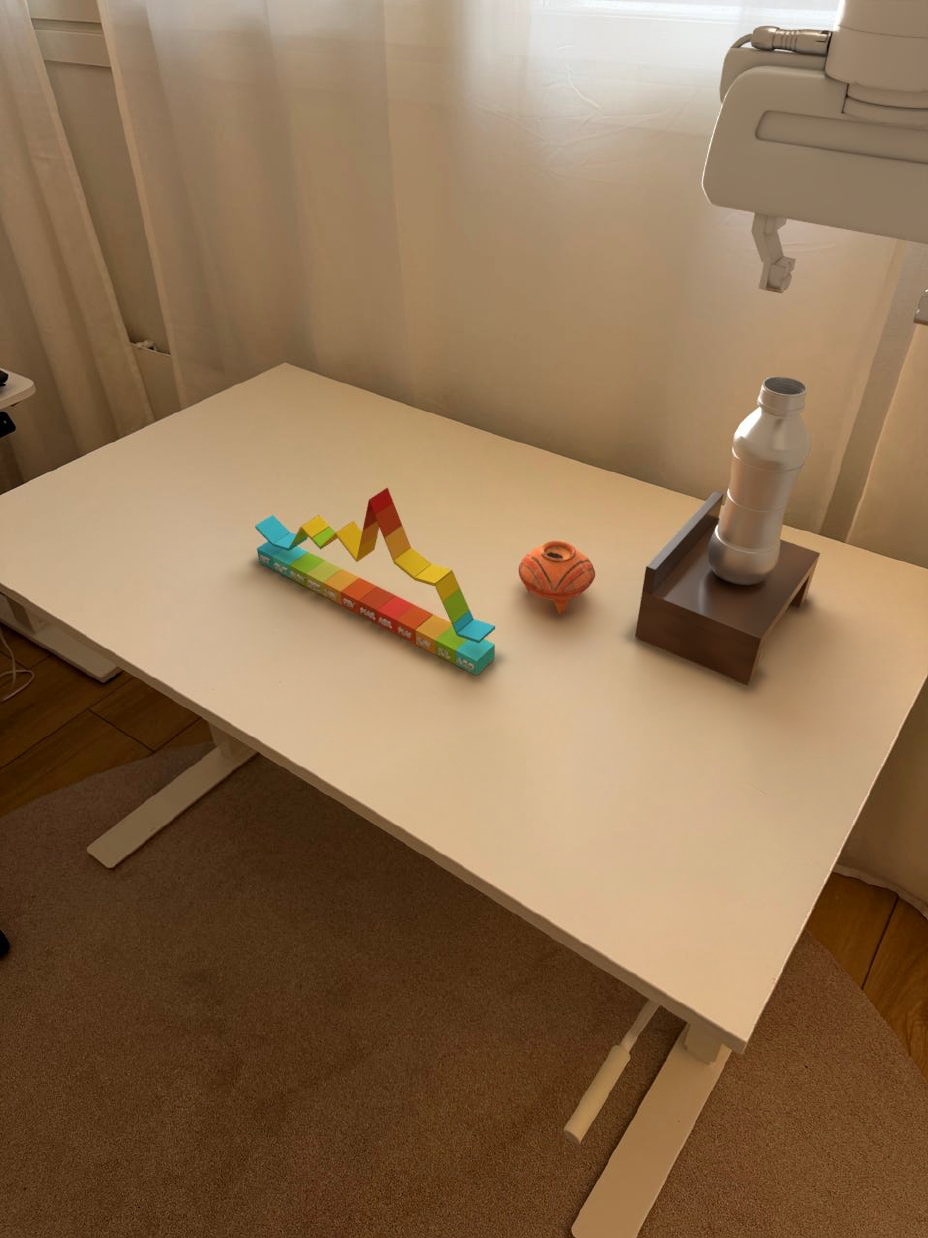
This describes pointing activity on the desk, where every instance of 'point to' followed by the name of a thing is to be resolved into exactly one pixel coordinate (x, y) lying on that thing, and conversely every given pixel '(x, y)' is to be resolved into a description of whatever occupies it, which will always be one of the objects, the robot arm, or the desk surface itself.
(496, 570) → the desk surface
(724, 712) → the desk surface
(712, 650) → the shelf
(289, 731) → the desk surface
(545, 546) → the pot
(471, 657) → the chart
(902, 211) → the robot arm
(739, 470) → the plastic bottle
